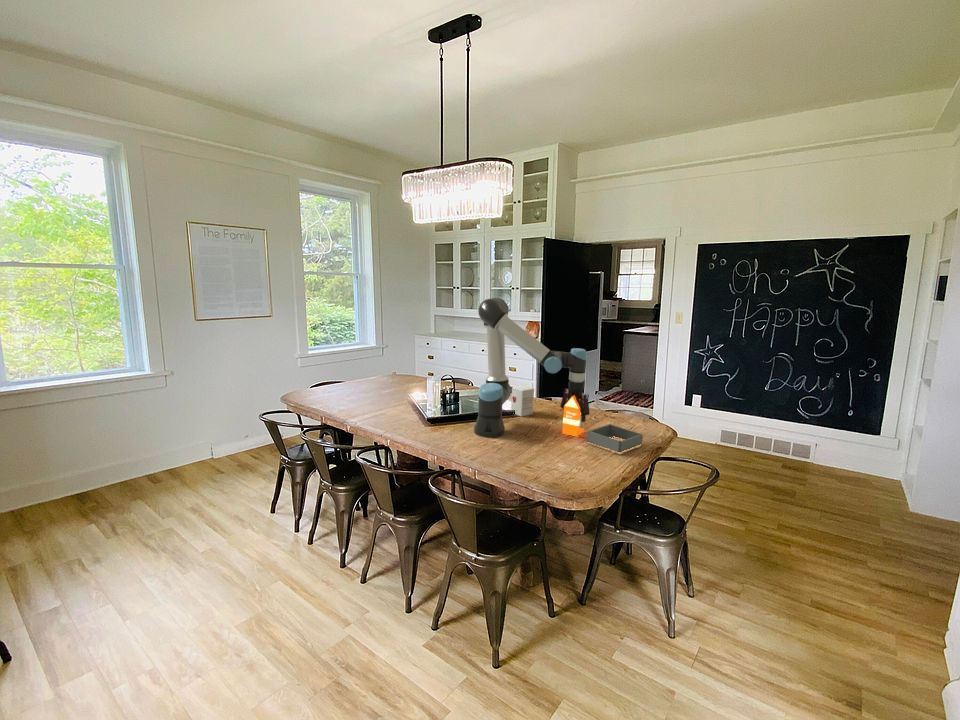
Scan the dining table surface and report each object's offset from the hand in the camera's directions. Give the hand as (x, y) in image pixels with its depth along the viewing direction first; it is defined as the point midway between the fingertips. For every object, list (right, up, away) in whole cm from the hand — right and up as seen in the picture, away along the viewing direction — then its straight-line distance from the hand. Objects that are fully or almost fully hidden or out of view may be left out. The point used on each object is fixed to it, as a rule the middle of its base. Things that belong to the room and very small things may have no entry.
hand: (573, 425), depth 223 cm
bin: (+16, -7, -12) cm, 22 cm away
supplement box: (-23, +2, +31) cm, 38 cm away
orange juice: (0, -5, +1) cm, 5 cm away
